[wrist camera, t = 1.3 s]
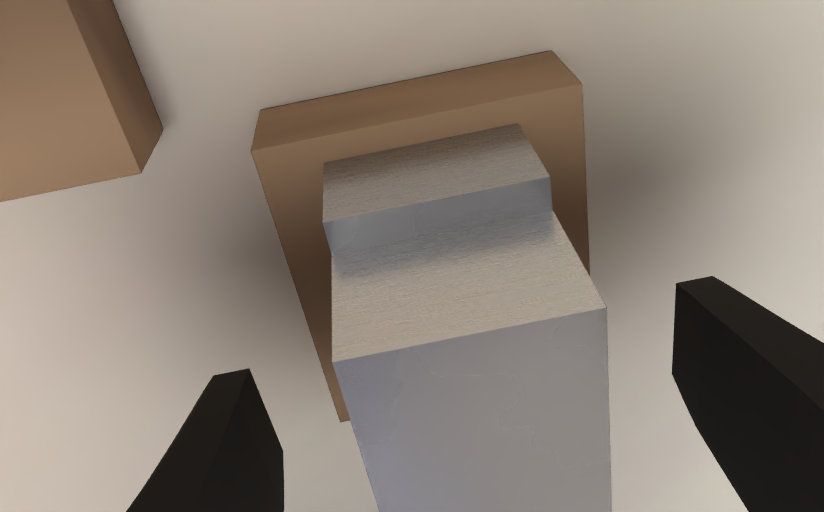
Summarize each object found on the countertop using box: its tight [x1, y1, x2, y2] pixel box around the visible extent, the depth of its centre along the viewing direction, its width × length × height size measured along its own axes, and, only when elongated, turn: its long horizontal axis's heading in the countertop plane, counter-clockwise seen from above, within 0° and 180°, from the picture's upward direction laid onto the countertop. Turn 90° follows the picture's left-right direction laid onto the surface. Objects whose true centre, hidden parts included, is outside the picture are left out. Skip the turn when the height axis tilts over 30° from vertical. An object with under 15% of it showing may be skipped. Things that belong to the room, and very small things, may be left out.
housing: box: [323, 123, 612, 512], centre depth 12 cm, size 6×4×5 cm, turn 10°
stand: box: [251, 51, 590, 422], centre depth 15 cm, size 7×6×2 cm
